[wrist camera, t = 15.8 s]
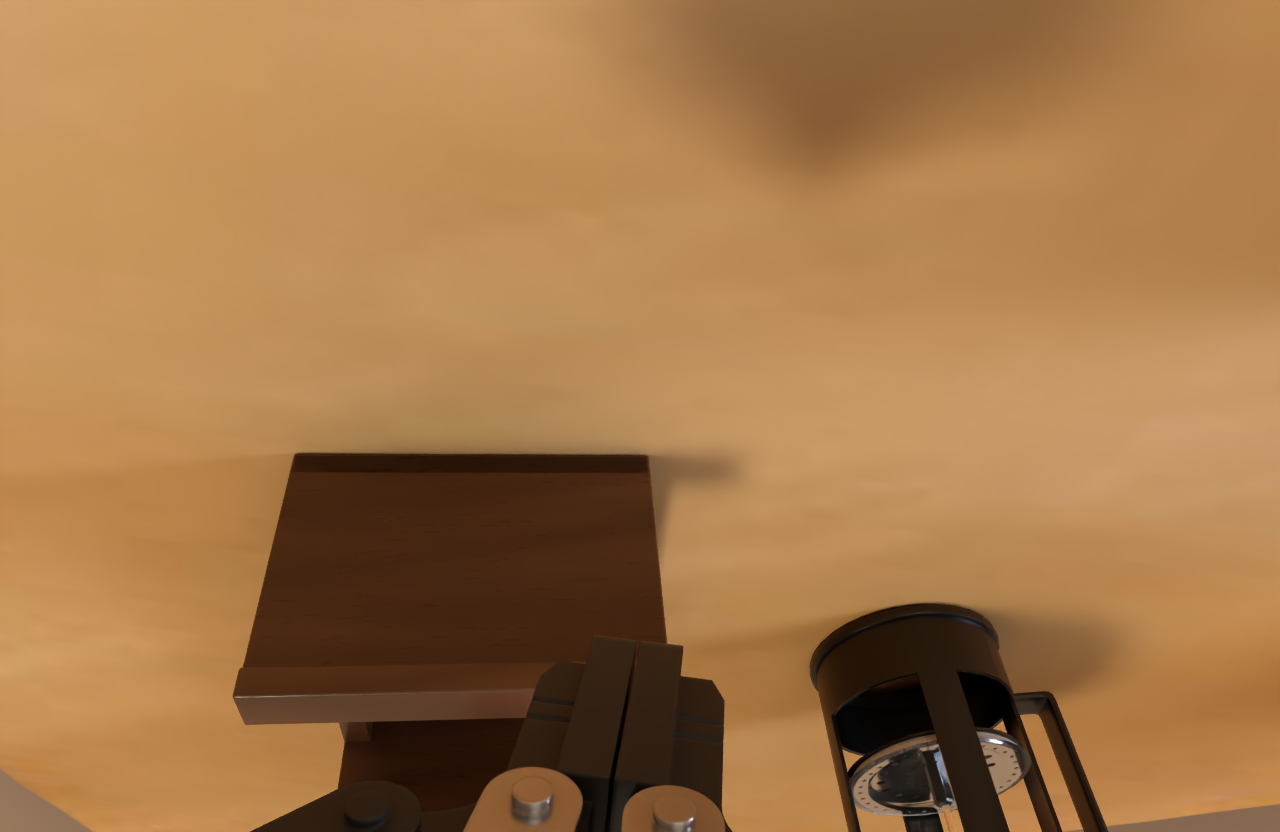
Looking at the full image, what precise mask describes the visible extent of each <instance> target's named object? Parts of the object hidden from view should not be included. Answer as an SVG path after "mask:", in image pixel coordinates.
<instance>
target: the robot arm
mask: <svg viewBox="0 0 1280 832" xmlns="http://www.w3.org/2000/svg"><path fill="white" fill-rule="evenodd" d="M636 653H637V640H632V639H624V638H616V637H609V636H601V635H594V637H593V640H592V643H591V647H590V650H589V654H588V657H587V661H586V664H580V663H572V662H564V661H558V662H557V663H555V664H554V665H553V666H552V667H551V668H549V669H548V670H547V671H546V672H545V673H544V674H542V675H541V676H540V678H539V680H538V683H537V686H536V689H535V692H534V694H533V698H532V701H531V703H530V706H529V708H528V711H527V716H526V717H525V720H524V722H523V725H522V728H521V731H520V734H519V736H518V739H517V742H516V745H515V748H514V750H513V753H512V756H511V759H510V762H509V764H508V767H507V770H506V772H504V773H502V774H500V775H498V776H497V777H495V778H494V779H493V780H491V781H490V782H489V783H488V784H487V786H486V787H485V789H484V790H483V792H482V794H481V796H480V798H479V800H478V802H475V803H473V804H470V805H468V806H464V807H460V808H455V809H449V810H439V811H429V812H421V806H420V803H419V801H418V799H417V797H416V796H415V795H414V794H413V793H412V792H411V791H410V790H408V789H407V788H405V787H403V786H401V785H399V784H396V783H392V782H387V781H376V780H374V781H363V782H357V783H353V784H350V785H347V786H344V787H342V788H340V789H337V790H335V791H333V792H331V793H329V794H327V795H325V796H323V797H321V798H319V799H317V800H315V801H313V802H310V803H308V804H306V805H304V806H302V807H300V808H298V809H296V810H294V811H292V812H290V813H288V814H286V815H284V816H281V817H279V818H277V819H275V820H273V821H271V822H269V823H267V824H265V825H263V826H261V827H259V828H257V829H255V830H252V831H250V832H732V831H731V829H730V828H729V827H728V825H727V823H726V821H725V819H724V816H723V813H722V772H723V735H724V726H723V725H724V699H723V697H722V696H721V694H720V692H719V691H718V689H717V688H716V686H715V684H714V683H713V681H712V680H705V679H698V678H690V677H682V676H680V674H681V665H682V655H683V646H681V645H673V644H665V643H657V642H649V641H640V646H639V651H638V657H637V662H636ZM635 664H636V667H635Z"/></svg>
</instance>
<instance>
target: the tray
mask: <svg viewBox="0 0 1280 832" xmlns="http://www.w3.org/2000/svg"><path fill="white" fill-rule="evenodd" d="M594 635H601V636H609V637H616V638H624V639H632V640H637V653H636V662H637V657H638V651H639V646H640V641H649V642H657V643H665V644H667V637H666V627H665V617H664V607H663V597H662V587H661V577H660V567H659V557H658V547H657V537H656V527H655V517H654V507H653V497H652V487H651V477H650V467H649V458H648V456H539V455H299V454H296V455H294V457H293V462H292V466H291V470H290V474H289V478H288V482H287V486H286V491H285V495H284V499H283V503H282V507H281V511H280V515H279V520H278V524H277V528H276V532H275V536H274V540H273V544H272V549H271V553H270V557H269V561H268V565H267V569H266V573H265V578H264V582H263V586H262V590H261V594H260V598H259V603H258V607H257V611H256V615H255V619H254V623H253V627H252V632H251V636H250V640H249V644H248V648H247V652H246V656H245V661H244V665H243V668H240V669H239V672H238V676H237V680H236V684H235V688H234V692H233V699H234V701H235V703H236V705H237V708H238V710H239V712H240V714H241V717H242V719H243V721H244V723H245V724H247V725H257V724H297V723H338V722H339V724H340V728H341V731H342V734H343V738H344V741H345V744H344V750H343V757H342V764H341V770H340V777H339V784H338V789H340V788H342V787H344V786H347V785H350V784H353V783H357V782H363V781H374V780H376V781H387V782H392V783H396V784H399V785H401V786H403V787H405V788H407V789H408V790H410V791H411V792H412V793H413V794H414V795H415V796H416V797H417V799H418V801H419V803H420V806H421V812H429V811H439V810H449V809H455V808H460V807H464V806H468V805H470V804H473V803H475V802H478V800H479V798H480V796H481V794H482V792H483V790H484V789H485V787H486V786H487V784H488V783H489V782H490V781H491V780H493V779H494V778H495V777H497V776H498V775H500V774H502V773H504V772H506V770H507V767H508V764H509V762H510V759H511V756H512V753H513V750H514V748H515V745H516V742H517V739H518V736H519V734H520V731H521V728H522V725H523V722H524V720H525V717H526V716H527V711H528V708H529V706H530V703H531V701H532V698H533V694H534V692H535V689H536V686H537V683H538V680H539V678H540V676H541V675H542V674H544V673H545V672H546V671H547V670H548V669H549V668H551V667H552V666H553V665H554V664H555V663H557V662H558V661H564V662H572V663H580V664H586V661H587V657H588V654H589V650H590V647H591V643H592V640H593V637H594ZM635 667H636V664H635Z"/></svg>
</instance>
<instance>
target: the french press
mask: <svg viewBox="0 0 1280 832" xmlns="http://www.w3.org/2000/svg"><path fill="white" fill-rule="evenodd" d="M998 650H999V642H998V636H997V633H996V631H995V629H994V628H993V626H992V624H991V623H990V622H989V621H988V620H987V619H985V618H984V617H983V616H982V615H980V614H978V613H975V612H973V611H971V610H969V609H964V608H960V607H956V606H949V605H938V604H931V605H913V606H905V607H898V608H894V609H890V610H885V611H881V612H878V613H875V614H872V615H869V616H866V617H863V618H861V619H858V620H856V621H854V622H852V623H850V624H848V625H846V626H844V627H842V628H841V629H839V630H838V631H836V632H835V633H833V634H832V635H830V636H829V637H828V638H827V639H826V640H825V641H824V642H823V643H821V644H820V646H819V647H818V649H817V650H816V651H815V653H814V654H813V657H812V660H811V662H810V676H811V680H812V682H813V685H814V687H815V689H816V690H817V691H818V693H819V697H820V702H821V706H822V711H823V716H824V720H825V725H826V730H827V734H828V739H829V744H830V748H831V753H832V757H833V762H834V767H835V771H836V776H837V781H838V785H839V790H840V795H841V799H842V804H843V808H844V813H845V818H846V822H847V827H848V832H861V831H860V826H859V822H858V817H857V813H856V808H855V806H857V807H859V808H861V809H863V810H865V811H869V812H873V813H876V814H883V815H891V816H903V819H904V823H905V827H906V831H907V832H943V828H942V825H941V821H940V818H939V814H938V813H942V812H943V813H944V817H945V820H946V824H947V827H948V831H949V832H957V830H956V826H955V823H954V819H953V816H952V812H951V811H952V810H957V809H958V812H959V815H960V819H961V822H962V825H963V829H964V832H1010V831H1009V828H1008V825H1007V822H1006V819H1005V816H1004V813H1003V810H1002V807H1001V804H1000V801H999V798H998V795H999V794H1001V793H1003V792H1005V791H1006V790H1008V789H1010V788H1011V787H1013V786H1014V785H1016V784H1017V783H1018V782H1019V781H1020V780H1022V779H1024V781H1025V784H1026V787H1027V790H1028V793H1029V796H1030V798H1031V801H1032V804H1033V807H1034V810H1035V813H1036V815H1037V818H1038V821H1039V824H1040V827H1041V830H1042V832H1062V829H1061V827H1060V824H1059V821H1058V818H1057V816H1056V813H1055V810H1054V808H1053V805H1052V802H1051V799H1050V797H1049V794H1048V791H1047V788H1046V786H1045V783H1044V780H1043V778H1042V775H1041V772H1040V769H1039V767H1038V764H1037V761H1036V758H1035V756H1034V753H1033V750H1032V748H1031V745H1030V742H1029V739H1028V737H1027V734H1026V731H1025V728H1024V726H1023V723H1022V720H1021V718H1020V715H1023V714H1038V715H1039V717H1040V718H1041V720H1042V723H1043V725H1044V728H1045V730H1046V733H1047V736H1048V738H1049V741H1050V743H1051V746H1052V749H1053V751H1054V754H1055V757H1056V759H1057V762H1058V764H1059V767H1060V770H1061V772H1062V775H1063V777H1064V780H1065V783H1066V785H1067V788H1068V791H1069V793H1070V796H1071V798H1072V801H1073V804H1074V806H1075V809H1076V812H1077V814H1078V817H1079V819H1080V822H1081V825H1082V827H1083V830H1084V832H1108V830H1107V827H1106V825H1105V822H1104V820H1103V817H1102V815H1101V812H1100V810H1099V807H1098V805H1097V802H1096V800H1095V797H1094V795H1093V792H1092V790H1091V787H1090V785H1089V782H1088V780H1087V777H1086V775H1085V772H1084V770H1083V767H1082V765H1081V762H1080V760H1079V757H1078V755H1077V752H1076V750H1075V747H1074V745H1073V742H1072V739H1071V737H1070V734H1069V732H1068V729H1067V727H1066V724H1065V722H1064V719H1063V717H1062V714H1061V712H1060V709H1059V707H1058V704H1057V702H1056V700H1055V697H1054V696H1053V694H1052V693H1050V692H1046V691H1042V692H1029V693H1017V694H1013V690H1012V687H1011V685H1010V682H1009V679H1008V677H1007V674H1006V671H1005V668H1004V666H1003V663H1002V660H1001V658H1000V655H999V652H998ZM917 674H918V677H919V681H920V684H921V689H918V690H913V691H909V692H903V693H895V694H870V693H864V692H865V691H867V690H869V689H871V688H873V687H876V686H878V685H880V684H883V683H886V682H889V681H892V680H896V679H899V678H903V677H908V676H912V675H917ZM1002 720H1003V722H1004V725H1005V728H1006V730H1007V733H1008V734H1007V733H1004V732H1002V731H999V730H995V729H993V728H994V727H996V726H997V725H998V724H999V723H1000V722H1001V721H1002ZM842 749H843V750H845V751H848V752H851V753H854V754H857V755H862V756H863V757H861V758H860V759H859V760H858V761H857V762H855V763H854V764H853V765H852V767H851V768H850V769H849V771H848V773H847V768H846V764H845V759H844V755H843V750H842Z"/></svg>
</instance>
